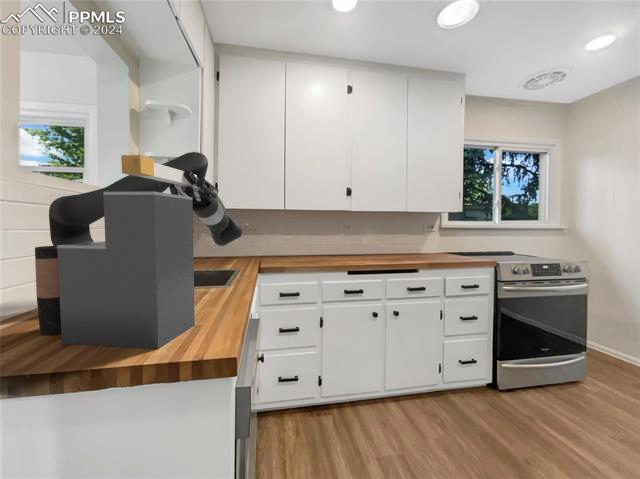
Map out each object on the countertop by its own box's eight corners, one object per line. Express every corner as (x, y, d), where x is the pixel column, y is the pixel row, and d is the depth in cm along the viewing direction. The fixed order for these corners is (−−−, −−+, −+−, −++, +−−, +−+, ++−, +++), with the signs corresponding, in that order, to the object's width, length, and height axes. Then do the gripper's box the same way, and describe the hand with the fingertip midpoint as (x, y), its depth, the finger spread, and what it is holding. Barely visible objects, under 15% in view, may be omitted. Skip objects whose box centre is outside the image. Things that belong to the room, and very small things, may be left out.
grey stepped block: (61, 343, 62) (54, 192, 60) (114, 321, 76) (110, 197, 74) (158, 349, 60) (154, 191, 58) (194, 325, 74) (192, 197, 72)
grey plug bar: (121, 173, 60) (121, 155, 59) (183, 186, 81) (183, 173, 81) (141, 173, 59) (140, 154, 59) (198, 186, 81) (197, 172, 81)
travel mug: (45, 338, 65) (40, 248, 64) (33, 331, 69) (29, 246, 68) (86, 328, 71) (83, 246, 70) (74, 322, 75) (70, 244, 74)
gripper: (188, 198, 93) (156, 160, 77) (231, 198, 91) (207, 160, 76) (182, 218, 89) (147, 183, 74) (226, 218, 88) (200, 183, 73)
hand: (178, 172), depth 75 cm, fingers closed on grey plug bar, 3 cm apart
